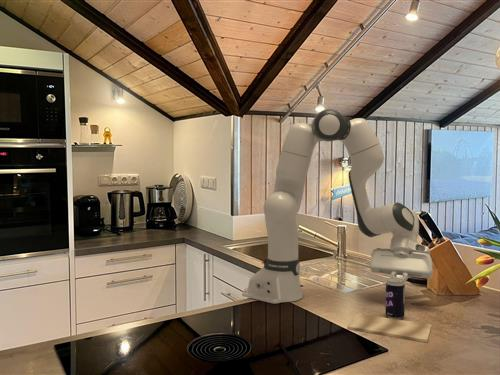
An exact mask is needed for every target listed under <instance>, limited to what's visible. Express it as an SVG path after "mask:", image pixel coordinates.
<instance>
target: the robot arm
mask: <svg viewBox="0 0 500 375" xmlns="http://www.w3.org/2000/svg"><path fill="white" fill-rule="evenodd" d="M335 141H340V142H341V143H342V144H343V145H344V147H345V149H346V150H347V153H348V156H349V159H350V165H351V166H350V170H349V171H348V182H349V183H348V184H349V188H350V192H351V196H352V199H353V204H354V207H355V211H356V217H357V218H356V221H357V227H358V230H359V231H360V232H361V233H362V234H364V235H365V236H366V237H368V238H374V237H377V236H380V235H383V234H389V233H391V234H392V238H391V240H390V246H389V248H381V247H377V248H375V249H372V251H371V259H370V262H369V269H370V271H371V272H372V273H373V274H376V273H377V274H385V275H391V278H397V276H402V278H401V279H402V280H403V282H404V283H405V282H407V280H408V278H409V277H412V278H421V279H431V278H432V277H433V276H434V275H433V274H434V270H433V268H434V267H433V260H432V257H431V251H430V248H429V246H427V245H424V244H421V243H418V241H417V240H418V237H419V235H420V233H419V232H420V231H419V230H420V221H419V215H418V214H417V212H416V211H415V210H414V209H411V208H408V207H407V206H406V205H404V204H403V203H401V202H398V201H397V202H392V203H389V204H384V205H382V206H377V207H374V208H372V207H371V205H370V202H369V198H368V192H367V189H366V184H367V181H368V180H369V178H371V177H372V176H373V175H374V174H376V172H377V171H379V169H380V168H381V167H382V165H383V163H384V160H385V157H384V151H383V148H382V146H381V144H380V141H379V139H378V137H377V135H376V133H375V131H374V129H373V127H372V126H371V125H370V123H369V122H368V121H367V119H365V118H361V117H358V118H356V117H355V118H353V119H351V120H350V119H349V118H348V117H346V116H344V115H343V114H342V113H341V112H340V111H337V110H335V109H331V108H330V109H327V108H326V109H323V110H321V111H320V112H318V113H317V114H316V116H315V117H314V118H313V120H312V121H311V122H310V123H305V122H295V123H293V124H292V125H291V126H290V127H289V129H288V132H287V133H286V135H285V138H284V141H283V144H282V147H281V150H280V154H279V155H280V156H279V159H278V161H277V162H278V163H277V166H276V170H275V179H274V180H275V183H274V187H273V192H272V193H271V194H269V195H268V196H267V198H266V199H265V201H264V204H263V214H264V218H265V219H264V221H265V227H266V233H267V256H266V258H264V259H263V260H261V265H263V267H262V268H261V269H259V270H258V271H257V272H255V273H254V274H253V275H252V276H250V278H249V281H248V286H247V287H246V288H245V289H243V291H242V293H241V295H242V297H246V298H248V299H253V300H257V301H261V302H266V303H270V304H280V303H290V302H296V301H298V300H301V299H303V297H304V294H303V292H302V287H301V281H300V270H301V263H300V262H301V261H300V258H299V235H298V230H297V229H298V228H297V218H296V217H297V214H298V213H299V212H300V208H301V205H302V200H303V195H304V191H305V184H306V181H307V179H306V178H307V176H308V171H309V169H310V164H311V161H312V157H313V153H314V150H315V148H316V145H317V144H318V143H319V142H325V143H326V142H335Z"/></svg>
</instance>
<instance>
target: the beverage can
mask: <svg viewBox="0 0 500 375" xmlns="http://www.w3.org/2000/svg"><path fill="white" fill-rule="evenodd" d="M405 292H406V288H405V282H403V280H402V278H398V277H396V278H392V277H389V278H387V279H386V282H385V315H386V316H387V318H391V319H398V320H402V318H404V317H405V303H406V301H405V297H406V296H405V295H406V294H405Z"/></svg>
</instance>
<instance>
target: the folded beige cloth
mask: <svg viewBox="0 0 500 375" xmlns="http://www.w3.org/2000/svg"><path fill="white" fill-rule="evenodd" d="M347 330H350V331H351V330H352V331H357V332H362V333H369V334H375V335H381V336H386V337H392V338H396V339H397V338H398V339H404V340H408V341H409V340H410V341H415V342H420V343H426V344H427V343H428V342H429V337H430V334H431V330H432V324H430V323H429V324H428V323H423V322H416V321H411V320H410V321H409V320H404V319H391V318H389V317H384V316H377V315H371V314H364V313H360V312H359V313H357V312H356V314H355V315H354V317H353V318H352V319H351V321H350V322H349V323H348V324H347Z"/></svg>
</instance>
